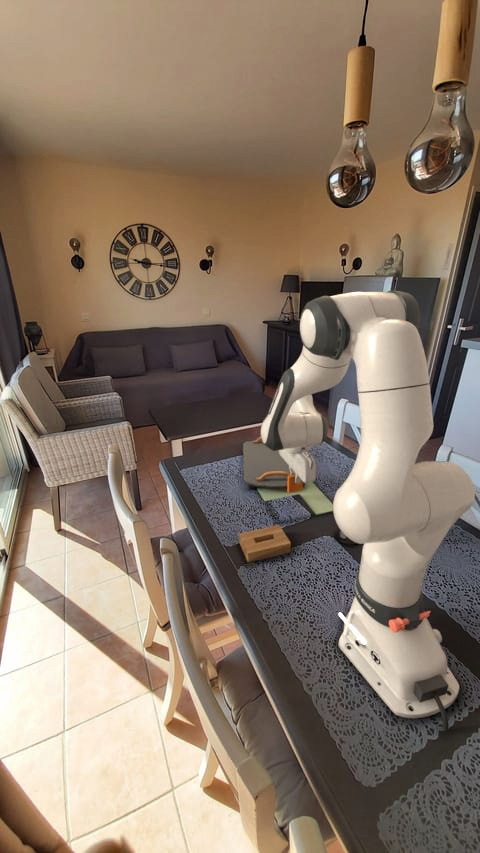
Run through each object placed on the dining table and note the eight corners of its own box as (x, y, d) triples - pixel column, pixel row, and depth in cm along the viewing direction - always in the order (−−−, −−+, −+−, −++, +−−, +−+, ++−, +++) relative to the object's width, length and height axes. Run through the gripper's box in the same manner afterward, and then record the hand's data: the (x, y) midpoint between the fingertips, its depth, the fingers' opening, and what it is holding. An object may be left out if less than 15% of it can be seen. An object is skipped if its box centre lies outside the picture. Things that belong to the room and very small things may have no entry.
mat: (337, 510, 114) (337, 509, 114) (278, 523, 109) (278, 522, 109) (308, 478, 132) (308, 477, 131) (256, 489, 126) (256, 488, 126)
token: (302, 490, 119) (303, 474, 117) (288, 493, 118) (289, 477, 115) (300, 488, 120) (301, 472, 118) (287, 491, 119) (287, 475, 116)
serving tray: (311, 492, 123) (311, 476, 120) (243, 494, 123) (242, 478, 121) (295, 443, 158) (295, 430, 156) (242, 445, 159) (242, 432, 156)
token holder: (290, 554, 97) (290, 542, 95) (248, 565, 94) (247, 553, 92) (279, 535, 104) (279, 524, 102) (239, 545, 101) (238, 533, 99)
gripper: (322, 455, 104) (319, 495, 109) (292, 428, 122) (291, 463, 127) (302, 458, 102) (300, 499, 107) (275, 430, 120) (274, 466, 125)
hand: (295, 479), depth 117 cm, fingers closed on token, 1 cm apart
